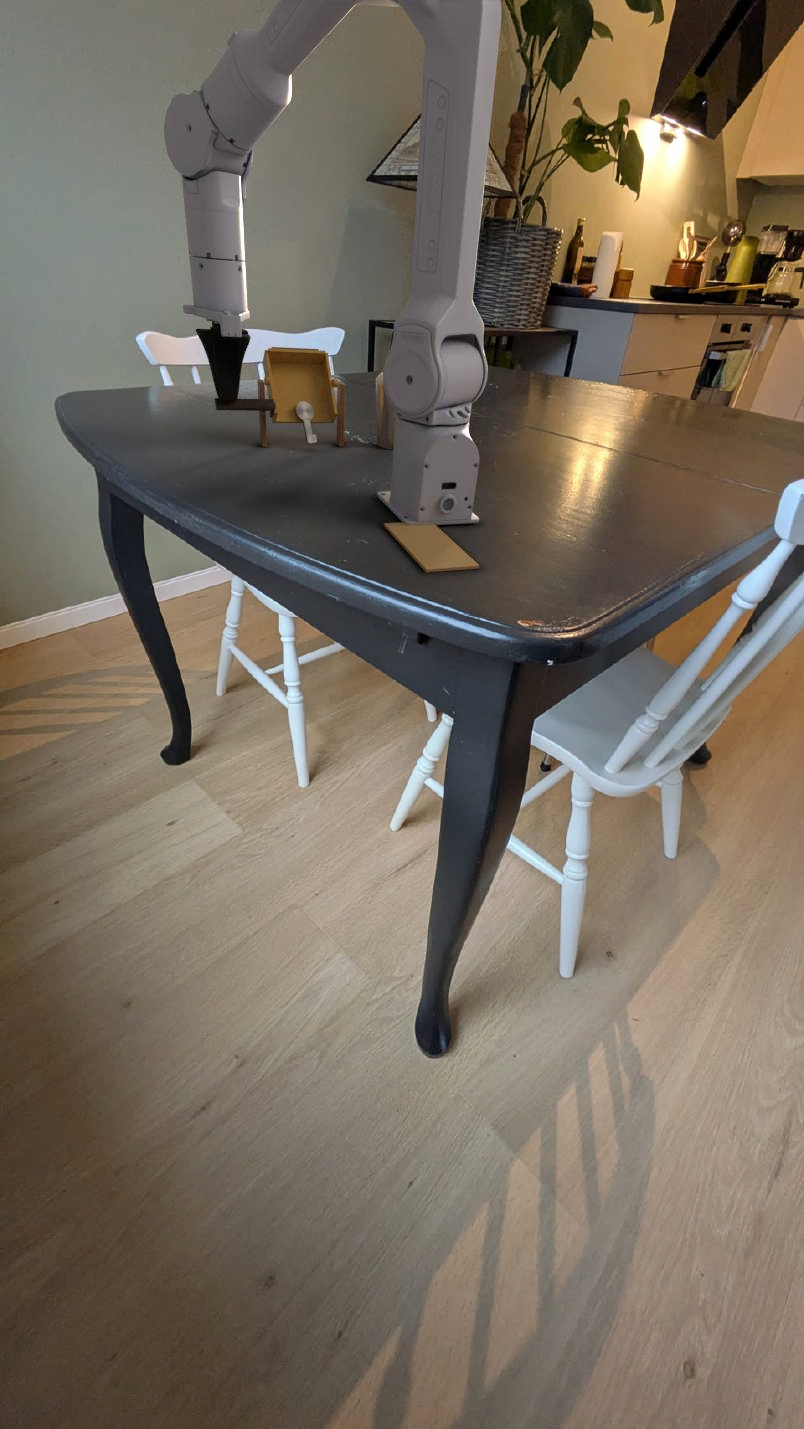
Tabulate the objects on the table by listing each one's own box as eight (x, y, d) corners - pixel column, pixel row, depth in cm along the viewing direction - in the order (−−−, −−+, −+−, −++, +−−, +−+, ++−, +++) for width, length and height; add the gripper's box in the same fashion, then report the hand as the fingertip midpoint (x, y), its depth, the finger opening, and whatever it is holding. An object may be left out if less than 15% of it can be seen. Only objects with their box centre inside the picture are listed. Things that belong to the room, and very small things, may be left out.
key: (318, 444, 81) (319, 443, 81) (301, 445, 80) (302, 443, 80) (310, 402, 81) (311, 401, 80) (293, 402, 80) (293, 401, 79)
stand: (343, 446, 84) (345, 384, 80) (262, 447, 81) (259, 382, 76) (340, 443, 85) (341, 381, 81) (260, 443, 82) (257, 379, 78)
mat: (478, 568, 55) (479, 565, 55) (426, 572, 53) (426, 569, 53) (430, 523, 63) (431, 520, 63) (383, 526, 61) (383, 523, 61)
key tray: (338, 423, 82) (343, 411, 80) (215, 422, 77) (216, 409, 74) (327, 358, 83) (332, 344, 80) (204, 354, 78) (205, 337, 75)
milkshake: (407, 442, 89) (414, 362, 83) (403, 452, 84) (410, 368, 78) (375, 439, 89) (379, 358, 83) (370, 448, 85) (374, 364, 79)
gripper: (172, 252, 71) (186, 386, 79) (184, 258, 60) (199, 413, 68) (236, 258, 73) (243, 388, 81) (258, 265, 62) (265, 413, 70)
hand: (227, 399), depth 75 cm, fingers closed, pressing on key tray
